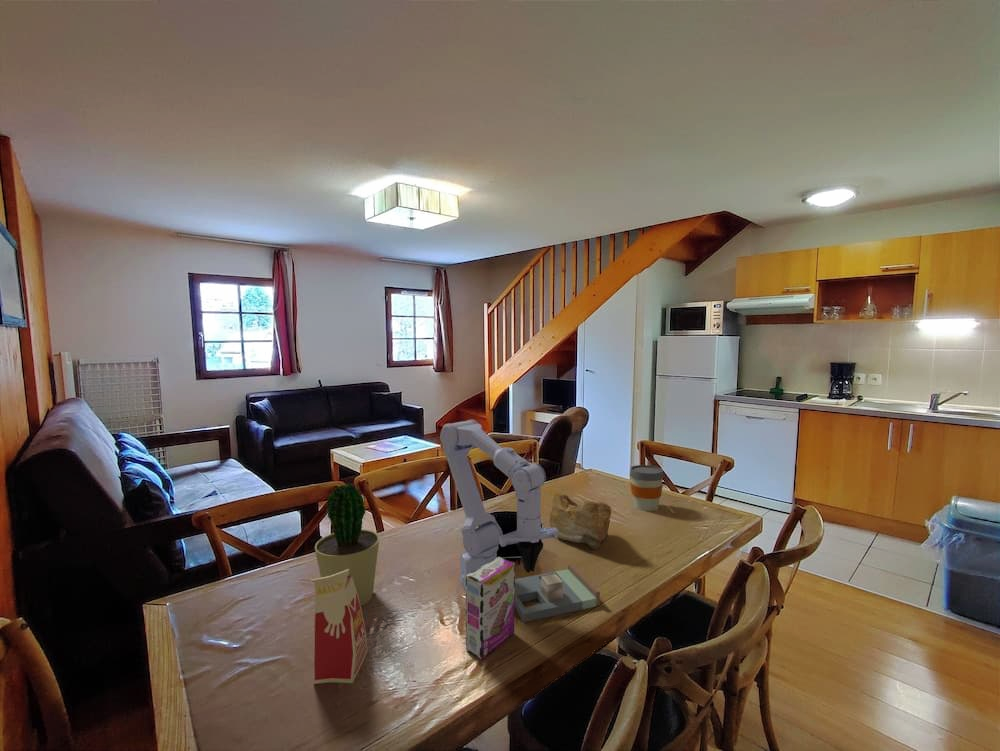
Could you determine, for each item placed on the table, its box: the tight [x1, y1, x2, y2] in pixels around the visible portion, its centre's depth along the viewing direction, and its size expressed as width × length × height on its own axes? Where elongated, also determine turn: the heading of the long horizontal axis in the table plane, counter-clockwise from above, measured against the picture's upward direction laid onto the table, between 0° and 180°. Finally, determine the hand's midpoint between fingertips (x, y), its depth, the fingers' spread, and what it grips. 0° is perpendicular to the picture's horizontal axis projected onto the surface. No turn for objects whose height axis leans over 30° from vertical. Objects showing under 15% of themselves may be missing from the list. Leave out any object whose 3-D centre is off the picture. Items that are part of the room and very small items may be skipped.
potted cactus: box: [314, 482, 380, 607], centre depth 112 cm, size 15×15×30 cm
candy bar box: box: [465, 556, 516, 660], centre depth 95 cm, size 11×5×16 cm, turn 141°
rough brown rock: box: [549, 492, 612, 550], centre depth 146 cm, size 23×17×15 cm
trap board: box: [514, 563, 601, 623], centre depth 112 cm, size 20×15×4 cm
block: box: [541, 574, 563, 601], centre depth 110 cm, size 4×4×4 cm
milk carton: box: [310, 569, 369, 685], centre depth 88 cm, size 9×9×20 cm
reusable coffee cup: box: [629, 464, 664, 512], centre depth 174 cm, size 13×13×15 cm
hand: (529, 569), depth 108 cm, fingers closed
